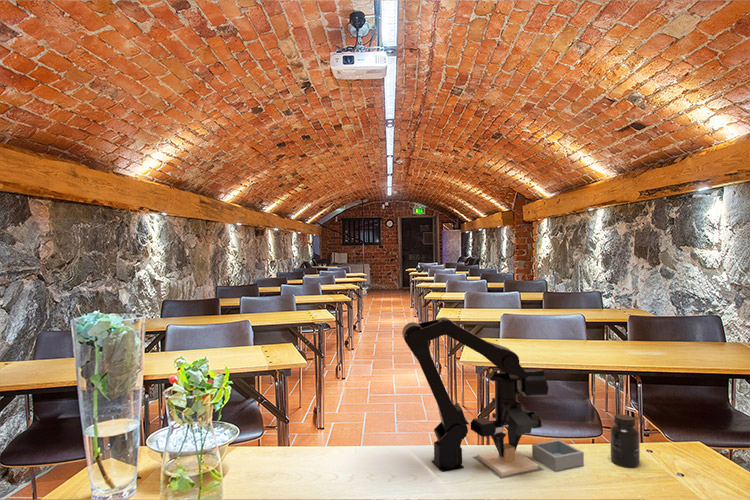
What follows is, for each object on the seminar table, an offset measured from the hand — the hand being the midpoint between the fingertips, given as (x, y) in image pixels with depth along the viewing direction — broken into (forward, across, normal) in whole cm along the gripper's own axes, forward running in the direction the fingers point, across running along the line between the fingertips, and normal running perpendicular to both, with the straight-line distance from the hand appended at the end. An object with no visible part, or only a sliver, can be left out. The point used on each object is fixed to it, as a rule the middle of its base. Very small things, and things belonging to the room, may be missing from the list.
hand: (506, 455), depth 122 cm
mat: (+2, 0, 0) cm, 2 cm away
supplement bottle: (+3, +30, -10) cm, 32 cm away
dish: (+2, +13, -4) cm, 14 cm away
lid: (+2, 0, 0) cm, 2 cm away
